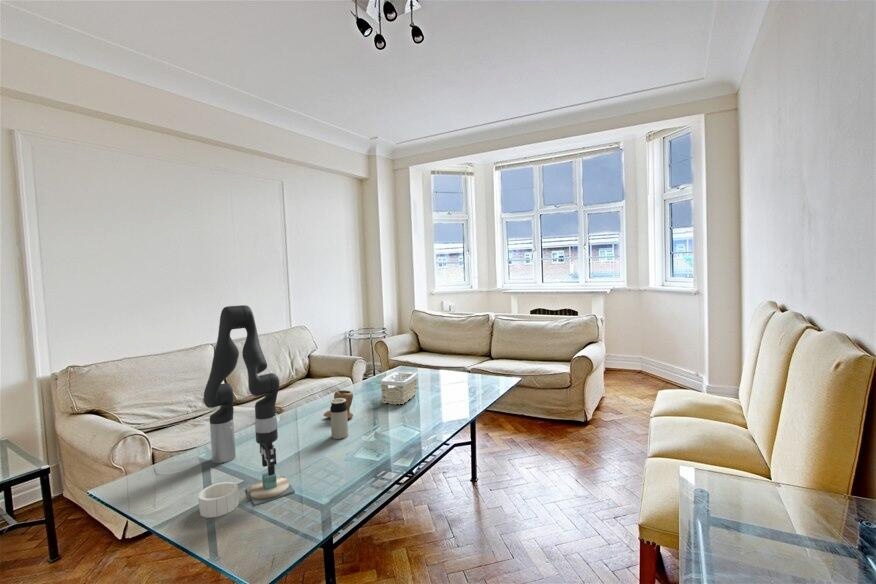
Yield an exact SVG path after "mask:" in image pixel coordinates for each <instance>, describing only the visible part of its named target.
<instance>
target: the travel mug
mask: <svg viewBox="0 0 876 584" xmlns="http://www.w3.org/2000/svg"><path fill="white" fill-rule="evenodd" d="M345 402H346V399H344V398H336V399H334V398H333V399H331V400H330V402H329V403H331V404H330V405H331V406H330V407H329V408H330V409H329V411H330V414H331V418H330V432H331V438H332V439H335V440H342V438H343V439H345V438H347V437H348V436H349V428H348V427H349V426H348V422H349V421H348V420H349V419H347V405H346V404H345Z"/></svg>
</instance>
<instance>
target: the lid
mask: <svg viewBox="0 0 876 584" xmlns="http://www.w3.org/2000/svg"><path fill="white" fill-rule="evenodd" d="M282 477H283V476H277V475H276V473H275V474H274V475H271V476H269V475H268V472H265V473H262V474H261V480H260V481H257V482H255V483H254V484H253V485H251V486H252V487H251V486H250V487H251V488H250V496H251V497H253V498H255V499H269V498H273V497H276V496H279V495H281V494H282V493H284V492H285V491H286V490H287V489H288V488H289V484H290V481H289V479H287V478H286V477H285V478H282ZM250 496H249V497H250Z"/></svg>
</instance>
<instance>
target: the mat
mask: <svg viewBox="0 0 876 584" xmlns="http://www.w3.org/2000/svg"><path fill="white" fill-rule="evenodd" d="M281 477H282V478H286V477H285V476H281ZM252 486H253V485H250V486H247V487H245V490H246V492H247V495H248V496H249V498H250V500H251V501H252V504H253V506H254V507H255V506H258V505H260V504H265V503H268V502H271V501H272V500H276V499H279V498H282V497H283V498H284V497H285V496H288V494H289V495H290V493H292V494H294V493H295V492H296V490H295V489H294V488H293V486H292V485H291V484H290V483H289V488H288V489H287V490H286V491H285V492H284V493H282V494H281V495H279V496H276V497H273V498H269V499H255V498H253V497H251V496H250V488H251V487H252ZM293 492H294V493H293Z"/></svg>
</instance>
